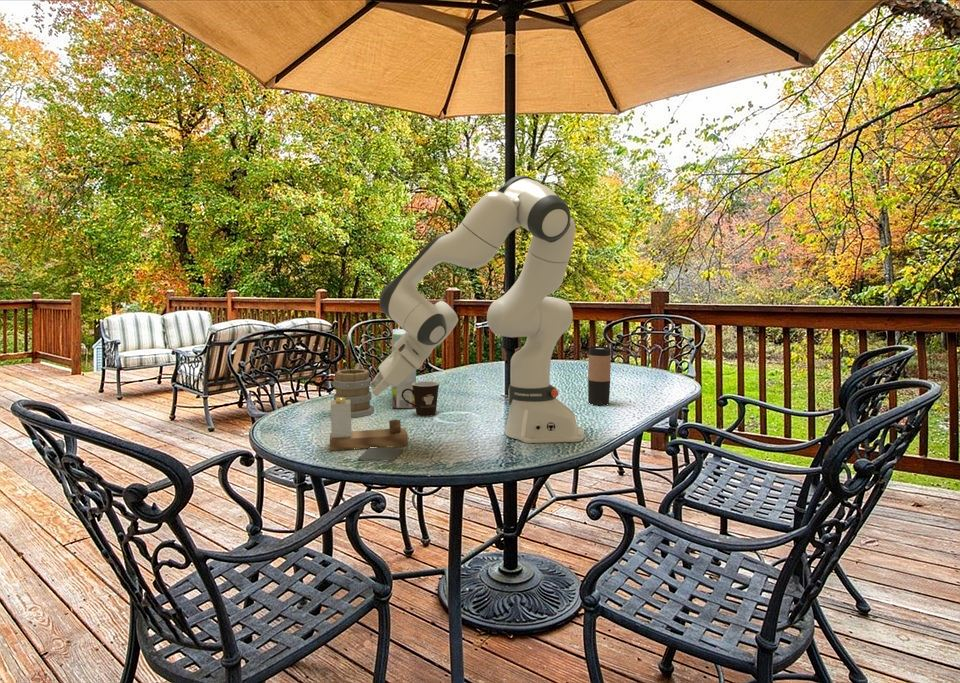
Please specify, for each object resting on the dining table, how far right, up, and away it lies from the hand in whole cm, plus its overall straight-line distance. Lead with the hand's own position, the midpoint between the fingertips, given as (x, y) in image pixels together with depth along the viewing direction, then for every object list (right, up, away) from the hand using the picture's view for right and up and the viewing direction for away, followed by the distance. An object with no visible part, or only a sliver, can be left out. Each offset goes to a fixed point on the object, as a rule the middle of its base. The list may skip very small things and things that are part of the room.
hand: (372, 390), depth 147 cm
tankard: (-13, -11, +41) cm, 45 cm away
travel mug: (+70, -9, +50) cm, 87 cm away
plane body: (-1, -15, +3) cm, 15 cm away
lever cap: (-8, -12, +1) cm, 15 cm away
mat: (+3, -16, -6) cm, 17 cm away
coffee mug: (+9, -11, +36) cm, 39 cm away
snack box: (+1, -9, +53) cm, 54 cm away
